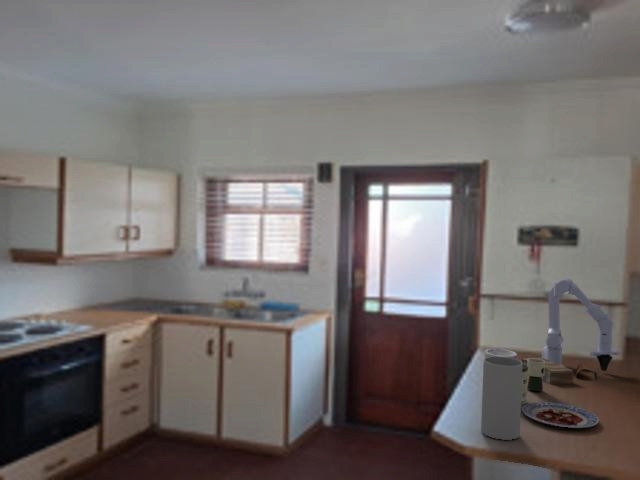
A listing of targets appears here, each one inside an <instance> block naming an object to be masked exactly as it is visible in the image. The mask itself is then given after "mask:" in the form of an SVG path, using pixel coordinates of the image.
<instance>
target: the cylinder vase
mask: <svg viewBox="0 0 640 480" xmlns="http://www.w3.org/2000/svg"><path fill="white" fill-rule="evenodd" d="M482 364H483V372H482V392H481V393H482V396H481V422H480V424H481V425H480V429H481V430H480V431H481V433H482V434H483V433H484V434H485V435H484V434H483V435H484V436H486V435H487V436H489V437H488V438H490V437H492V438H491V439H493V438H496V439H495V440H497V439H502V440H501V441H504V440H509V441H513V440H512V439H515V440H516V438H517V439H519V437H520V434H521V418H522V417H521V413H522V411H521V410H522V404H521V392H522V367H523V363H522V360H519V359H518V358H517V359H513V358H508V357H486V358H485V357H484V358H483V363H482ZM487 436H486V437H487Z"/></svg>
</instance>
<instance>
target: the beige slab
mask: <svg viewBox="0 0 640 480" xmlns="http://www.w3.org/2000/svg"><path fill="white" fill-rule="evenodd" d="M531 358H532V357H526V358H525V357H524V358H521V362H522V363H523V365H526V366H527V359H531ZM533 358H534V359H541V360H544V361H545V375H544V376H542V377H541V378H542V381H543V380H544V381H543V382H546V383H548V384H550V385H559V384H573V381H574V380H573V379H574V377H573V376H574V369H571V368H569V367H566V366H565V365H564V366H565V367H564V366H561V365H559V364H556V363H554V362H552V361H549V360H547V359H544V358H542V357H533Z"/></svg>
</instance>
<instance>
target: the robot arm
mask: <svg viewBox="0 0 640 480" xmlns="http://www.w3.org/2000/svg"><path fill="white" fill-rule="evenodd" d="M565 293H567V294H568V295H572V296H575V298H577V300H579V301H580V302H581V303H582V304H583V306H584V307H585V308H586V312H587V313H588V315H589V316H590V317H591V318H592V319H593V320H594V321H595V322H596V323H597V326H598V328H599V330H598V338H597V339H598V340H597V341H598V342H597V349H596V350H592V351H590V352H589V356H590V357H596V358H597V360H598V363H599V367H600V370H601V371H603V372H606V371H607V369H608V367H609V365H610V363H611V361H612V360H613V356H619V353H620V352H619V351H618V350H614V349H612V346H613V345H612V341H613V333H612V332H613V328H612V327H613V325H614V321H613V319H612V317H610V316H609V314H608V313H605V312H604V310H602V309H601V308H602V307H601V305H598V304H596V303H592V301H591V300H590V299H589V298H588V297H587V296H586V294H585V293H584V292H583V290H581V289H580V287H579V286H578V285H577V284H576V283H575V282H573V280H572V279H570V278H563V279H560V280H558V281H557V282H556V283H554V285H553V286H552V288H551V289H550V291H549V292H548V333H547V337H546V339H545V344H546V345H545V346H544V347H543V348H542V351H541V358H544V359H547V360H549V361H552V362H554V363H556V364H559V365H561V366H564V367H566V365H565V364H562V359H563V358H562V356H563V347H562V344H563V342H564V337H563V336H562V331H561V328H560V327H561V325H560V322H561V321H560V318H561V317H560V315H561V314H560V298H561V297H562V296H563V295H564V294H565Z"/></svg>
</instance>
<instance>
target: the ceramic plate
mask: <svg viewBox="0 0 640 480" xmlns="http://www.w3.org/2000/svg"><path fill="white" fill-rule="evenodd" d="M522 412H523V413H524V415H525V416H527V417H529V418H530V419H532V420H535V421H536V422H539V423H543V424H547V425H549V424H550V426H553V425H554V427H557V426H559V427H558V428H565V427H568V428H567V429H569V428H570V429H583V428H592V427H594V426H596V425H598V424H599V422H600V419H599V417H598V416H597V415H596V414H595V413H592V412H591V411H589V410H586V409H584V408H582V407H578V406H575V405H571V404H567V403H559V402H549V401H548V402H547V401H541V402H539V401H538V402H531V403H527V404H525V405H524V406H523V407H522Z"/></svg>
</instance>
